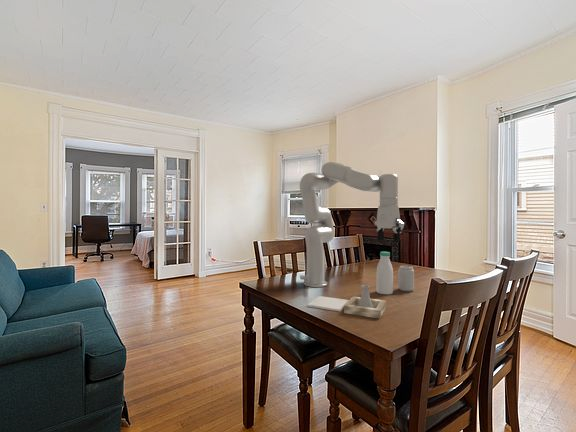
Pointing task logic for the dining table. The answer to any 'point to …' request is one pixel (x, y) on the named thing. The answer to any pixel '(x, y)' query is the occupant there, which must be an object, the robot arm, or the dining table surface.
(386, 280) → the milk bottle
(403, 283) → the can
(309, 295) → the dining table surface
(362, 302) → the flask
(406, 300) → the dining table surface
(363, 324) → the dining table surface
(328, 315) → the dining table surface
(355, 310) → the holder
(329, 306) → the plate
